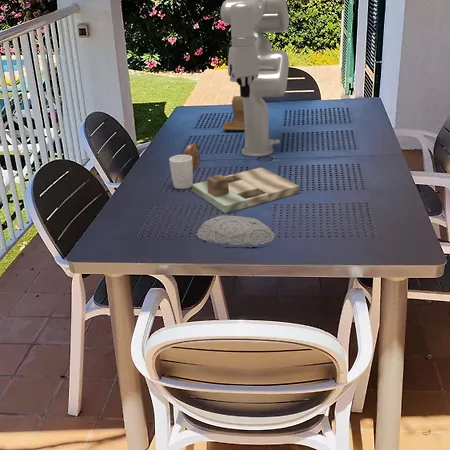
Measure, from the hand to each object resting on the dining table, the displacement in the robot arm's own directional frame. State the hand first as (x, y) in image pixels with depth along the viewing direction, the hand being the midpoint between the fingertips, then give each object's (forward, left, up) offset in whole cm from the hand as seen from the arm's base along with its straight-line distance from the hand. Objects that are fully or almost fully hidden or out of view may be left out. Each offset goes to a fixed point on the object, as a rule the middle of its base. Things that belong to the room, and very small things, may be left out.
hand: (245, 96), depth 208 cm
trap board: (+12, +18, -27) cm, 34 cm away
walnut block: (+22, +18, -25) cm, 38 cm away
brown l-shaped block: (-26, -49, -27) cm, 62 cm away
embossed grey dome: (+31, +44, -28) cm, 61 cm away
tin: (+15, -16, -27) cm, 35 cm away
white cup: (+26, -1, -27) cm, 38 cm away
